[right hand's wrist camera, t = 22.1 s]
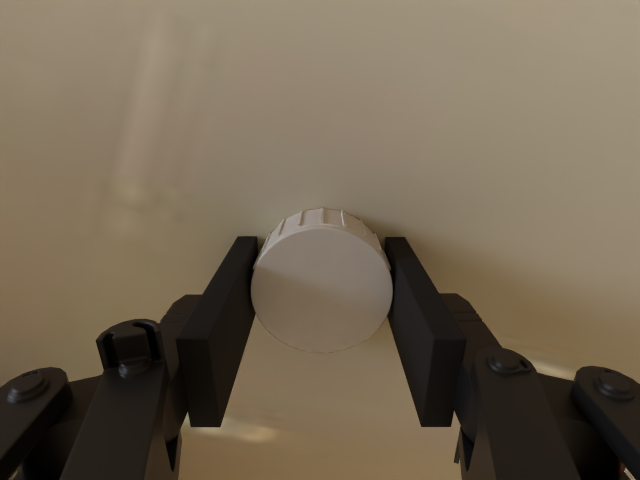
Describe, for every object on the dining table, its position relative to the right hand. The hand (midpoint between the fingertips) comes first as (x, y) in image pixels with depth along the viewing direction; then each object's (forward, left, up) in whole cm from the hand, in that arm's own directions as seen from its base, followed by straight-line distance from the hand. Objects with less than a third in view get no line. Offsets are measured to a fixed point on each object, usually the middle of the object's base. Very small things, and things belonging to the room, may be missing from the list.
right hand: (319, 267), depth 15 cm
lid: (0, 0, +2) cm, 2 cm away
